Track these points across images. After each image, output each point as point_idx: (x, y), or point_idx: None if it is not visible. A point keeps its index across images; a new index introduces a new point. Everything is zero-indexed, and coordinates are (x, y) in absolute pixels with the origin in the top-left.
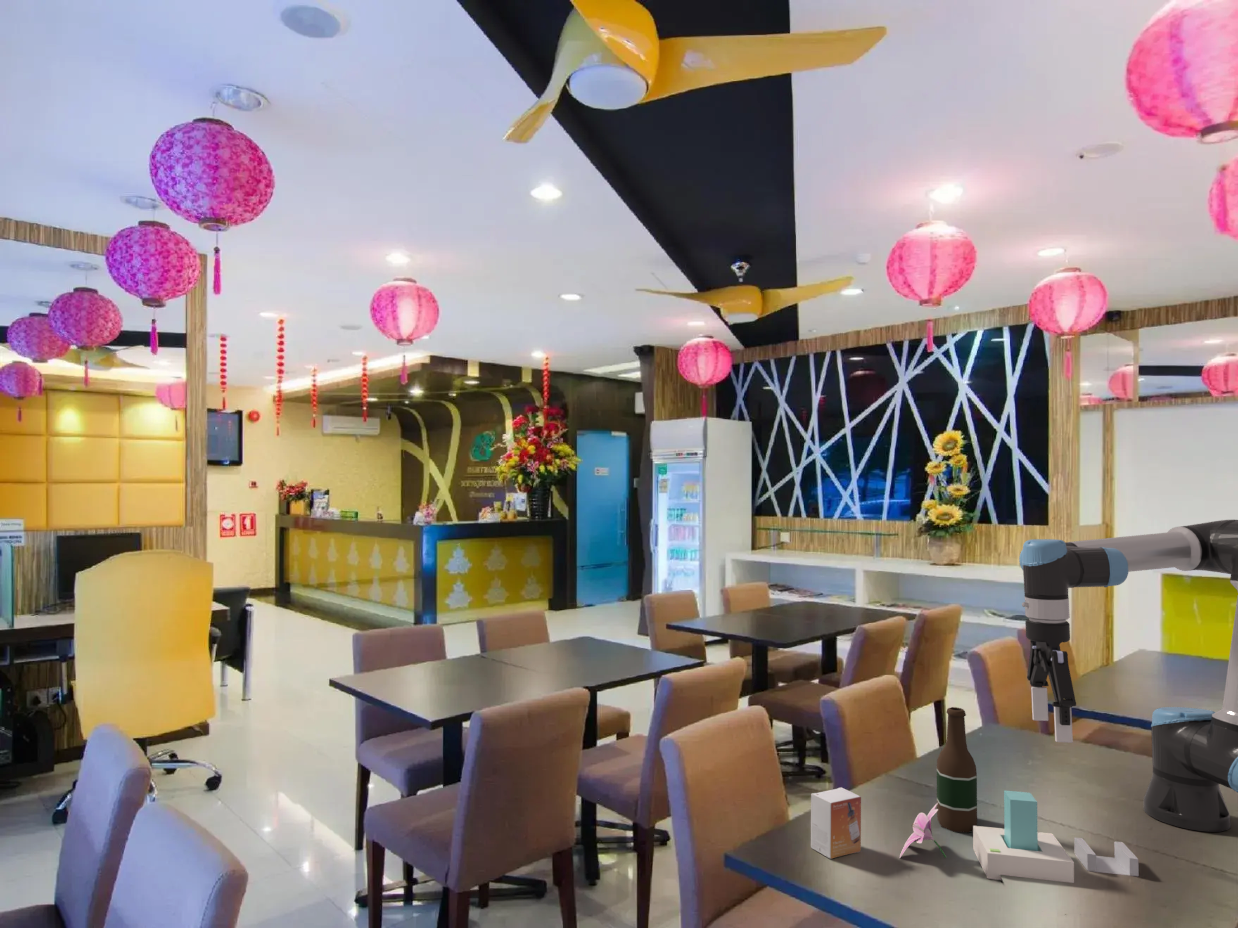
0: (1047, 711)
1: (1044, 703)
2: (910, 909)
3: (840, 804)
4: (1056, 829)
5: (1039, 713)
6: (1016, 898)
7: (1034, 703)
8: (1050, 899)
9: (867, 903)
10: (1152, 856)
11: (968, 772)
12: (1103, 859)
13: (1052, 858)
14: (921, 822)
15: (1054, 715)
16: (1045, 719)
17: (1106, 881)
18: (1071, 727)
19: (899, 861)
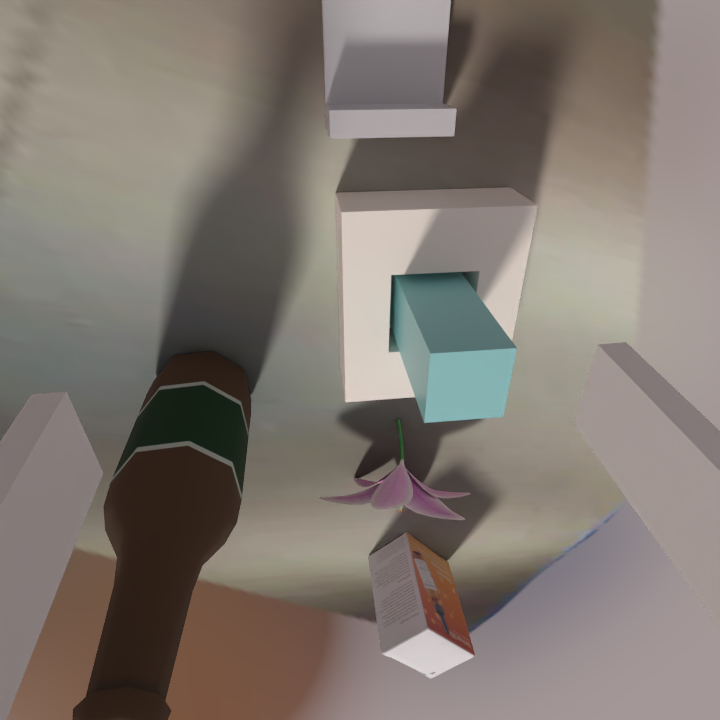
0: (37, 452)
1: (9, 534)
2: (600, 471)
3: (460, 640)
4: (91, 116)
5: (70, 485)
6: (562, 321)
7: (48, 588)
8: (565, 256)
9: (582, 516)
10: None
11: (229, 481)
12: (347, 41)
13: (518, 255)
14: (371, 494)
15: (684, 571)
16: (69, 414)
17: (460, 78)
18: (695, 414)
19: (434, 484)
